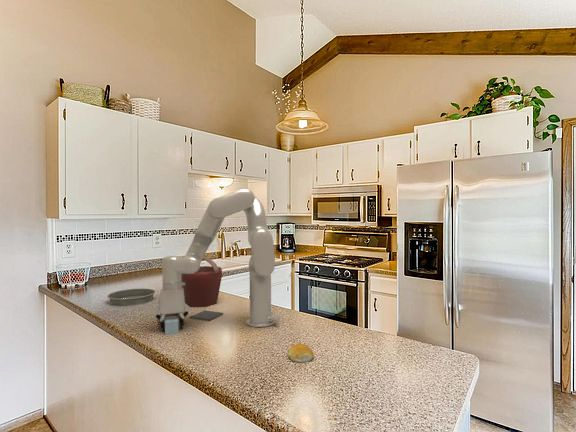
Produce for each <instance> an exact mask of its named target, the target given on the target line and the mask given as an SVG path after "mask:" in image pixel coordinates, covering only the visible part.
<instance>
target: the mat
mask: <svg viewBox="0 0 576 432" xmlns="http://www.w3.org/2000/svg"><path fill="white" fill-rule="evenodd" d="M223 315H224V312H222V311H221V312H220V311H213V310H205V309H204V310H202V311H200V312H197V313H195V314H193V315H190V316H189V319H193V320H199V321H205V322H206V321H207V322H211V321H212V320H215V319H217V318H219V317H221V316H223Z"/></svg>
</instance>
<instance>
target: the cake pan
mask: <svg viewBox="0 0 576 432" xmlns="http://www.w3.org/2000/svg"><path fill="white" fill-rule="evenodd" d="M155 294H156V290H155V289H153V288H129V289H122V290H118V291H117V290H116V291H114V292H111V293H109V294H107V296H106V297H107V299H109V301H110V304H111V305H112V304H113V306H117V307H120V306H121V307H124V306H125V307H129V305H130V306H136V305H142V304H143V305H144V304H147V303H149V302H151V301H152V300H153V299H154V295H155ZM123 298H124V299H123ZM125 298H126V299H125Z"/></svg>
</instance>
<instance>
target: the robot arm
mask: <svg viewBox="0 0 576 432" xmlns="http://www.w3.org/2000/svg"><path fill="white" fill-rule="evenodd" d="M241 211H243V212H244V214H245V217H246V223H247V241H248V244H249V245H250V249H251V250H250V251H251V256H250V257H249V260H248V269H249V270H248V271H249V318H247V319H246V320H245V323H246V325H247V326H249V327H252V328H265V327H270V326H271V327H272V325H274V324H275V322H277V323H278V322H279V321H280V316H278V315H274V312H273V311H272V274H273V272H274V270H275V267H276V258H275V257H276V256H275V247H274V246H275V245H274V239H273V238H274V237H273V235H272V233H271V232H270V231H269V230H268V224H267V223H268V222H267V217H266V216H267V215H266V211H265V207H264V205H263V203H262V202H261V200H259V199H258V198H257V196H255V194H254V192H253V191H252V190H251V189H249V188H239V189H237V190H235V191H231V192H229V193H227V194H224V195H222V196H219V197H216V198H214V199H212V200H210V202H209V204H208V206H207V208H206V209H205V212H204V214H203V216H202V218H201V220H200V222H199V224H198V226H197V227H196V230H195V232H194V236H193V239H192V241H191V244H190V245H189V247H188V250H187V251H186V253H185V255H184V256H183V257H181V256H179V255H167V256H164V257H163V258H162V288H161V289H160V292H159V298H158V300H159V301H158V305H157V306H156V307H155V308H154V309H153V310H152V311H151V315H153V316H154V317H155V318H156V319H157V320H159V326H160V329H161V330H162V332H165V318H166V317H165V315H166V314H175V313H179V314H180V323H179V329H181V330H182V329H183V327H184V326H185V324H184V323H185V322H184V321H185V320H184V319H185V318H186V317H187V316H188V314H189V313H190V312H191V311H192V308H193V307H190V306H189V305H187V304H186V303H185V296H184V289H183V288H182V286H183V285H185V282H182V273H183V274H194V273H196V272H197V271H198V270H199V268H200V267H201V263H202V261H203V260H204V259H203V257H205V255H206V253H207V251H208V250H209V248H210V246H211V244H212V243H213V242H214V241H215V239H216V237H217V234H218V233H219V231H220V228H221V226H222V224H223V222H224V220H225V218H226V217H229V216H233V215H234V214H237V213H240V212H241ZM158 312H159V313H158ZM160 314H161V316H160Z"/></svg>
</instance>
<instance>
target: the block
mask: <svg viewBox="0 0 576 432" xmlns="http://www.w3.org/2000/svg"><path fill="white" fill-rule="evenodd" d="M164 334H165V335H167V336H168V335H174V334H179V319H178V316H171V317H164Z"/></svg>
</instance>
